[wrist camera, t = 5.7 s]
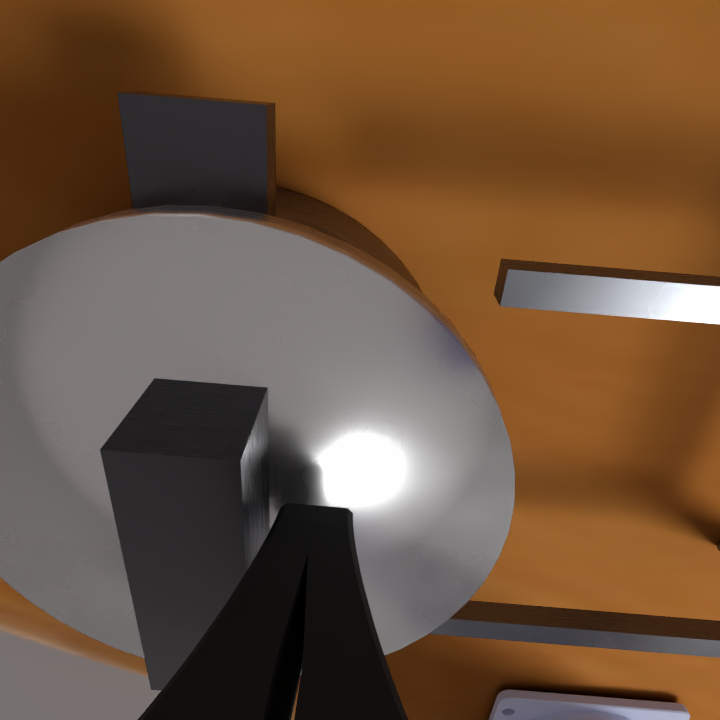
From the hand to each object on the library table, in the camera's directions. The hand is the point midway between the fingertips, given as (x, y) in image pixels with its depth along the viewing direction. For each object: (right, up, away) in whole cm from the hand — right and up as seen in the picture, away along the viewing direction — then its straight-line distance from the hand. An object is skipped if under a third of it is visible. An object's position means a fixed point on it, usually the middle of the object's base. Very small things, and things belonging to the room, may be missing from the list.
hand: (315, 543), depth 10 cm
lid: (-2, +1, +1) cm, 2 cm away
